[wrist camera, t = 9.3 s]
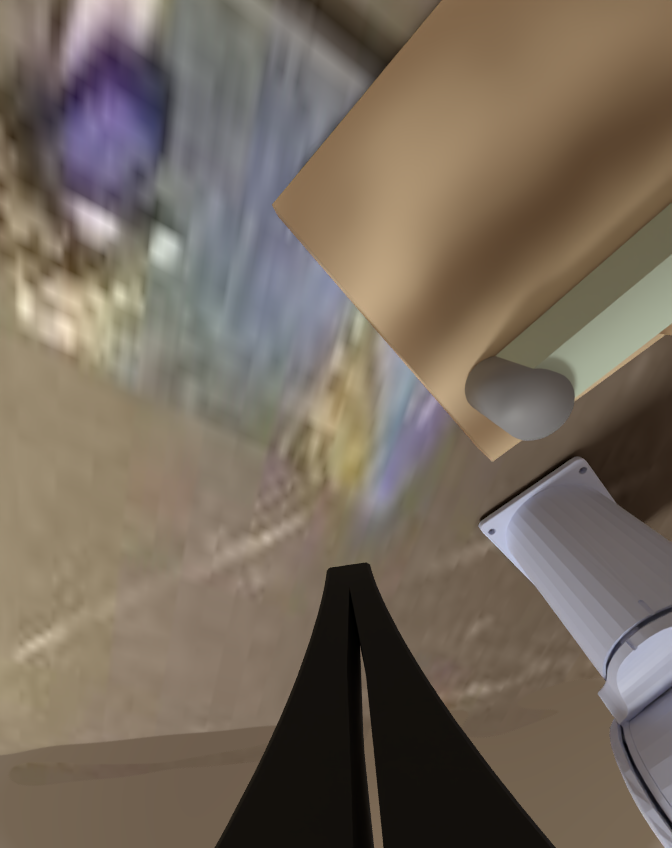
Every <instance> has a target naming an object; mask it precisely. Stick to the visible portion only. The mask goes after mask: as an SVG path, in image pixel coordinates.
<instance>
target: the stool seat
mask: <svg viewBox="0 0 672 848" xmlns="http://www.w3.org/2000/svg"><path fill="white" fill-rule="evenodd" d="M670 203H672V0H442V1H441V2H440V3H439V4H438V5H437V7H436V8H435V9H434V10H433V11H432V13H431V14H430V15H429V16H428V17H427V19H426V20H425V21H424V22H423V23H422V25H421V26H420V27H419V28H418V30H417V31H416V32H415V33H414V34H413V36H412V37H411V38H410V39H409V40H408V42H407V43H406V44H405V45H404V46H403V48H402V49H401V50H400V51H399V52H398V54H397V55H396V56H395V57H394V58H393V60H392V61H391V62H390V63H389V64H388V66H387V67H386V68H385V69H384V70H383V72H382V73H381V74H380V75H379V77H378V78H377V79H376V80H375V81H374V83H373V84H372V85H371V86H370V87H369V89H368V90H367V91H366V92H365V93H364V95H363V96H362V97H361V98H360V99H359V101H358V102H357V103H356V104H355V105H354V107H353V108H352V109H351V110H350V111H349V113H348V114H347V115H346V116H345V117H344V119H343V120H342V121H341V122H340V124H339V125H338V126H337V127H336V128H335V130H334V131H333V132H332V133H331V134H330V136H329V137H328V138H327V139H326V140H325V142H324V143H323V144H322V145H321V146H320V148H319V149H318V150H317V151H316V152H315V154H314V155H313V156H312V157H311V158H310V160H309V161H308V162H307V163H306V164H305V166H304V167H303V168H302V169H301V170H300V172H299V173H298V174H297V175H296V177H295V178H294V179H293V180H292V181H291V183H290V184H289V185H288V186H287V187H286V189H285V190H284V191H283V192H282V193H281V195H280V196H279V197H278V198H277V199H276V201H275V202H274V203H273V204H272V206H273V208H274V209H275V211H276V213H277V215H278V217H279V218H280V219H281V220H282V221H283V223H284V224H285V225H286V226H287V227H288V228H289V229H290V231H291V232H292V233H293V234H294V235H295V236H296V238H297V239H298V240H299V241H300V242H301V243H302V245H303V246H304V247H305V248H306V249H307V250H308V252H309V253H310V254H311V255H312V256H313V257H314V258H315V260H316V261H317V262H318V263H319V264H320V265H321V267H322V268H323V269H324V270H325V271H326V272H327V274H328V275H329V276H330V277H331V278H332V279H333V281H334V282H335V283H336V284H337V285H338V286H339V287H340V289H341V290H342V291H343V292H344V293H345V294H346V296H347V297H348V298H349V299H350V300H351V301H352V303H353V304H354V305H355V306H356V307H357V308H358V310H359V311H360V312H361V313H362V314H363V315H364V316H365V318H366V319H367V320H368V321H369V322H370V323H371V325H372V326H373V327H374V328H375V329H376V330H377V332H378V333H379V334H380V335H381V336H382V337H383V338H384V340H385V341H386V342H387V343H388V344H389V345H390V347H391V348H392V349H393V350H394V351H395V352H396V354H397V355H398V356H399V357H400V358H401V359H402V361H403V362H404V363H405V364H406V365H407V366H408V367H409V369H410V370H411V371H412V372H413V373H414V374H415V376H416V377H417V378H418V379H419V380H420V381H421V383H422V384H423V385H424V386H425V387H426V388H427V390H428V391H429V392H430V393H431V394H432V395H433V396H434V398H435V399H436V400H437V401H438V402H439V403H440V405H441V406H442V407H443V408H444V409H445V410H446V412H447V413H448V414H449V415H450V416H451V417H452V419H453V420H454V421H455V422H456V423H457V424H458V425H459V427H460V428H461V429H462V430H463V431H464V432H465V434H466V435H467V436H468V437H469V438H470V439H471V441H472V442H473V443H474V444H475V445H476V446H477V447H478V448H479V449H480V450H481V451H482V452H483V453H484V454H485V455H486V456H487V457H488V458H489V459H490V460H491V461H492V462H493V461H494V460H495V459H497V458H498V457H500V456H501V455H502V454H504V453H505V452H506V451H508V450H509V449H510V448H512V447H513V446H515V445H516V444H517V443H519V442H520V441H521V440H520V439H517V438H515V437H513V436H511V435H510V434H509V433H507V432H506V431H504V430H503V429H502V428H500V427H499V426H498V425H496V424H495V423H494V422H492V421H491V420H489V419H488V418H487V417H485V416H484V415H483V414H481V413H480V412H478V411H477V410H476V409H474V408H473V407H472V406H471V405H470V404H469V403H468V401H467V399H466V396H465V384H466V380H467V377H468V375H469V374H470V372H471V371H472V369H473V368H474V367H475V366H476V365H477V364H479V363H480V362H481V361H483V360H485V359H487V358H489V357H493V356H496V355H497V354H498V353H499V352H500V351H502V350H503V349H504V348H505V347H506V346H507V345H508V344H510V343H511V342H512V341H513V340H514V339H515V338H516V337H518V336H519V335H520V334H521V333H522V332H523V331H524V330H526V329H527V328H528V327H529V326H530V325H531V324H533V323H534V322H535V321H536V320H537V319H538V318H539V317H541V316H542V315H543V314H544V313H545V312H546V311H547V310H549V309H550V308H551V307H552V306H553V305H554V304H556V303H557V302H558V301H559V300H560V299H561V298H562V297H564V296H565V295H566V294H567V293H568V292H569V291H570V290H572V289H573V288H574V287H575V286H576V285H577V284H579V283H580V282H581V281H582V280H583V279H584V278H585V277H587V276H588V275H589V274H590V273H591V272H592V271H593V270H595V269H596V268H597V267H598V266H599V265H600V264H601V263H603V262H604V261H605V260H606V259H607V258H608V257H610V256H611V255H612V254H613V253H614V252H615V251H616V250H618V249H619V248H620V247H621V246H622V245H623V244H624V243H626V242H627V241H628V240H629V239H630V238H631V237H633V236H634V235H635V234H636V233H637V232H638V231H639V230H641V229H642V228H643V227H644V226H645V225H646V224H647V223H649V222H650V221H651V220H652V219H653V218H654V217H656V216H657V215H658V214H659V213H660V212H661V211H662V210H664V209H665V208H666V207H667V206H668V205H669V204H670ZM664 335H672V324H670V325H669V326H668V327H667V328H665V329H664V330H663V331H661V332H660V333H659V334H657V335H656V336H655V337H654V338H652V339H651V340H650V341H648V342H647V343H646V344H645V345H643V346H642V347H641V348H639V349H638V350H637V351H635V352H634V353H633V354H632V355H630V356H629V357H628V358H626V359H625V360H624V361H622V362H621V363H620V364H619V365H617V366H616V367H615V368H613V369H612V370H611V371H610V372H608V373H607V374H606V375H604V376H603V377H602V378H600V379H599V380H598V381H597V382H595V383H594V384H593V385H591V386H590V387H589V388H587V389H586V390H585V391H584V392H582V393H581V394H580V395H578V396H577V397H576V398H575V400H574V401H576V400H577V399H579V398H580V397H581V396H583V395H584V394H585V393H587V392H588V391H589V390H591V389H592V388H594V387H595V386H596V385H598V384H599V383H600V382H602V381H603V380H604V379H606V378H607V377H608V376H610V375H611V374H613V373H614V372H615V371H617V370H618V369H619V368H621V367H622V366H623V365H625V364H626V363H628V362H629V361H630V360H632V359H633V358H634V357H636V356H637V355H638V354H640V353H641V352H643V351H644V350H645V349H647V348H648V347H649V346H651V345H652V344H653V343H655V342H656V341H657V340H659V339H660V338H662V337H663V336H664Z"/></svg>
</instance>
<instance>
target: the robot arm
mask: <svg viewBox="0 0 672 848" xmlns="http://www.w3.org/2000/svg"><path fill="white" fill-rule="evenodd" d="M581 468H582V469H581ZM580 469H581V470H580ZM479 528H480V529H481V531H482V532H483V533H484V534H485V535H486V536H487V537H488V538H489V539H490V540H491V541H492V542H493V543H494V544H495V545H496V546H497V547H498V548H499V549H500V550H501V551H502V552H503V553H504V554H505V555H506V556H507V557H508V559H509V560H510V561H511V562H512V563H513V564H514V565H515V566H516V567H517V568H518V569H519V570H520V571H521V572H522V573H523V574H524V575H525V576H526V577H527V578H528V579H529V580H530V581H531V582H532V583H533V584H534V585H535V586H536V588H537V589H538V590H539V592H540V593H541V594H542V596H543V597H544V598H545V600H546V601H547V602H548V604H549V605H550V607H551V608H552V609H553V611H554V612H555V613H556V615H557V616H558V617H559V619H560V620H561V621H562V623H563V624H564V625H565V627H566V628H567V630H568V631H569V632H570V634H571V635H572V636H573V638H574V639H575V640H576V642H577V643H578V644H579V646H580V647H581V648H582V650H583V651H584V653H585V654H586V655H587V657H588V658H589V659H590V661H591V662H592V663H593V665H594V666H595V667H596V669H597V670H598V672H599V673H600V674H601V676H602V677H603V678H604V680H605V681H606V683H605V685H604V686H603V688H602V689H600V691H599V692H598V695H599V696H600V698H601V699H602V700H603V702H604V703H605V705H606V706H607V708H608V709H609V711H610V712H611V713H612V715H613V716H614V718H615V719H614V720H613V722H612V724H611V727H610V741H611V747H612V750H613V753H614V756H615V759H616V762H617V764H618V766H619V769H620V771H621V773H622V776H623V778H624V781H625V782H626V785H627V787H628V789H629V791H630V793H631V795H632V797H633V799H634V801H635V803H636V804H637V806H638V808H639V810H640V811H641V813H642V815H643V816H644V818H645V819H646V821H647V823H648V824H649V826H650V827H651V829H652V830H653V831H654V833H655V834H656V836H657V837H658V839H659V840H660V842H661V843H662V844H663V846H664V847H665V848H672V542H670V541H669V540H667V539H666V538H665V537H663V536H662V535H660V534H659V533H657V532H656V531H655V530H653V529H652V528H650V527H649V526H647V525H646V524H645V523H643V522H642V521H640V520H639V519H637V518H636V517H635V516H633V515H632V514H630V513H629V512H627V511H626V510H625V509H623V508H622V507H620V506H619V505H617V503H616V502H615V501H614V499H613V498H612V496H611V495H610V494H609V492H608V491H607V489H606V488H605V487H604V485H603V484H602V482H601V481H600V480H599V478H598V477H597V475H596V474H595V473H594V471H593V470H592V468H591V467H590V466H589V464H588V463H587V461H586V460H585V459H583V458H581V457H578V456H577V457H574V458H572V459H570V460H569V461H567V462H566V463H564V464H563V465H562V466H560V467H559V468H557V469H556V470H554V471H553V472H551V473H550V474H548V475H547V476H546V477H544V478H543V479H541V480H540V481H538V482H537V483H535V484H534V485H532V486H531V487H530V488H528V489H527V490H525V491H524V492H522V493H521V494H519V495H518V496H516V497H515V498H514V499H512V500H511V501H509V502H508V503H506V504H505V505H503V506H502V507H501V508H499V509H498V510H496V511H495V512H493V513H492V514H490V515H489V516H487V517H486V518H485V519H483V520H482V521H481V522H480V523H479ZM490 529H492V530H490ZM489 530H490V531H489ZM360 647H361V652H362V657H363V662H364V667H365V672H366V680H367V689H368V698H369V708H370V717H371V727H372V737H373V746H374V756H375V766H376V776H377V786H378V796H379V806H380V816H381V826H382V836H383V847H384V848H556V847H555V846H554V845H553V844H552V843H551V842H550V840H549V839H548V838H547V837H546V836H545V834H544V833H543V832H542V831H541V830H540V828H539V827H538V826H537V825H536V824H535V822H534V821H533V820H532V819H531V817H530V816H529V815H528V814H527V813H526V811H525V810H524V809H523V808H522V807H521V805H520V804H519V803H518V802H517V801H516V799H515V798H514V797H513V795H512V794H511V793H510V791H509V790H508V789H507V788H506V786H505V785H504V784H503V783H502V782H501V780H500V779H499V778H498V776H497V775H496V774H495V773H494V771H493V770H492V769H491V767H490V766H489V765H488V763H487V762H486V761H485V760H484V758H483V757H482V755H481V754H480V753H479V751H478V750H477V749H476V747H475V746H474V745H473V743H472V742H471V741H470V739H469V738H468V737H467V735H466V734H465V733H464V731H463V730H462V729H461V727H460V726H459V725H458V723H457V722H456V721H455V719H454V718H453V716H452V715H451V713H450V712H449V710H448V709H447V707H446V706H445V705H444V703H443V702H442V700H441V699H440V697H439V696H438V694H437V693H436V691H435V690H434V688H433V687H432V685H431V684H430V682H429V681H428V679H427V678H426V676H425V675H424V673H423V671H422V670H421V668H420V667H419V665H418V663H417V662H416V660H415V658H414V657H413V655H412V653H411V652H410V650H409V648H408V647H407V645H406V643H405V641H404V640H403V638H402V636H401V634H400V633H399V631H398V629H397V627H396V625H395V623H394V621H393V619H392V617H391V615H390V613H389V612H388V610H387V608H386V605H385V603H384V601H383V599H382V597H381V594H380V592H379V590H378V587H377V585H376V582H375V580H374V577H373V574H372V571H371V567H370V564H368V563H360V564H353V565H346V566H339V567H332V568H329V569H328V570H327V574H326V581H325V587H324V591H323V596H322V600H321V604H320V608H319V612H318V615H317V619H316V622H315V626H314V629H313V632H312V636H311V639H310V642H309V645H308V648H307V650H306V653H305V656H304V659H303V662H302V665H301V668H300V670H299V673H298V676H297V678H296V681H295V683H294V686H293V689H292V691H291V694H290V696H289V698H288V701H287V703H286V705H285V708H284V710H283V713H282V715H281V717H280V719H279V722H278V724H277V726H276V728H275V730H274V733H273V735H272V737H271V739H270V741H269V744H268V746H267V748H266V750H265V752H264V754H263V756H262V758H261V760H260V763H259V765H258V767H257V769H256V771H255V773H254V775H253V777H252V779H251V781H250V782H249V784H248V786H247V788H246V790H245V792H244V794H243V796H242V798H241V800H240V802H239V804H238V805H237V807H236V809H235V811H234V813H233V815H232V817H231V819H230V821H229V823H228V825H227V826H226V828H225V830H224V832H223V834H222V836H221V838H220V839H219V841H218V843H217V845H216V846H215V848H374V844H373V843H374V842H373V833H372V824H371V813H370V805H369V794H368V784H367V774H366V765H365V754H364V738H363V715H362V687H361V659H360Z"/></svg>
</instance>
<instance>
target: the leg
mask: <svg viewBox="0 0 672 848" xmlns="http://www.w3.org/2000/svg"><path fill="white" fill-rule="evenodd" d="M670 324H672V203H670V204H669V205H668V206H667V207H666V208H665V209H664V210H662V211H661V212H660V213H659V214H658V215H657V216H656V217H654V218H653V219H652V220H651V221H650V222H649V223H647V224H646V225H645V226H644V227H643V228H642V229H641V230H639V231H638V232H637V233H636V234H635V235H634V236H633V237H631V238H630V239H629V240H628V241H627V242H626V243H624V244H623V245H622V246H621V247H620V248H619V249H618V250H616V251H615V252H614V253H613V254H612V255H611V256H610V257H608V258H607V259H606V260H605V261H604V262H603V263H601V264H600V265H599V266H598V267H597V268H596V269H595V270H593V271H592V272H591V273H590V274H589V275H588V276H587V277H585V278H584V279H583V280H582V281H581V282H580V283H579V284H577V285H576V286H575V287H574V288H573V289H572V290H570V291H569V292H568V293H567V294H566V295H565V296H564V297H562V298H561V299H560V300H559V301H558V302H557V303H556V304H554V305H553V306H552V307H551V308H550V309H549V310H547V311H546V312H545V313H544V314H543V315H542V316H541V317H539V318H538V319H537V320H536V321H535V322H534V323H533V324H531V325H530V326H529V327H528V328H527V329H526V330H524V331H523V332H522V333H521V334H520V335H519V336H518V337H516V338H515V339H514V340H513V341H512V342H511V343H510V344H508V345H507V346H506V347H505V348H504V349H503V350H502V351H500V352H499V353H498V354H497V355H496V356H493V357H489V358H487V359H485V360H483V361H481V362H480V363H479V364H477V365H476V366H475V367H474V368H473V369H472V371H471V372H470V374H469V375H468V377H467V380H466V384H465V396H466V399H467V401H468V403H469V404H470V405H471V406H472V407H473V408H474V409H476V410H477V411H478V412H480V413H481V414H483V415H484V416H485V417H487V418H488V419H489V420H491V421H492V422H494V423H495V424H496V425H498V426H499V427H500V428H502V429H503V430H504V431H506V432H507V433H509V434H510V435H511V436H513V437H515V438H517V439H520V440H537V439H541V438H544V437H546V436H548V435H550V434H552V433H553V432H555V431H556V430H557V429H558V428H560V427H561V426H562V425H563V424H564V422H565V421H566V420H567V418H568V417H569V415H570V413H571V411H572V409H573V406H574V400H575V398H576V397H577V396H578V395H580V394H581V393H582V392H584V391H585V390H586V389H587V388H589V387H590V386H591V385H593V384H594V383H595V382H597V381H598V380H599V379H600V378H602V377H603V376H604V375H606V374H607V373H608V372H610V371H611V370H612V369H613V368H615V367H616V366H617V365H619V364H620V363H621V362H622V361H624V360H625V359H626V358H628V357H629V356H630V355H632V354H633V353H634V352H635V351H637V350H638V349H639V348H641V347H642V346H643V345H645V344H646V343H647V342H648V341H650V340H651V339H652V338H654V337H655V336H656V335H657V334H659V333H660V332H661V331H663V330H664V329H665V328H667V327H668V326H669V325H670Z"/></svg>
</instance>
